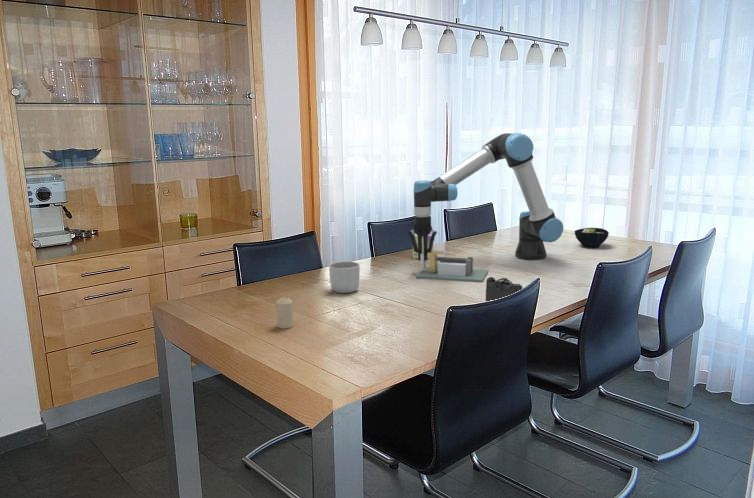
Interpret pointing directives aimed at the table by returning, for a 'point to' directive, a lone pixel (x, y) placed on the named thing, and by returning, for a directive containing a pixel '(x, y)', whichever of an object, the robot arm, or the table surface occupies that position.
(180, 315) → the table surface
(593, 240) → the bowl
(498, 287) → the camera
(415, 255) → the box
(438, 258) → the strap
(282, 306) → the candle
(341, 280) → the planter
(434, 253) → the notched wooden block
